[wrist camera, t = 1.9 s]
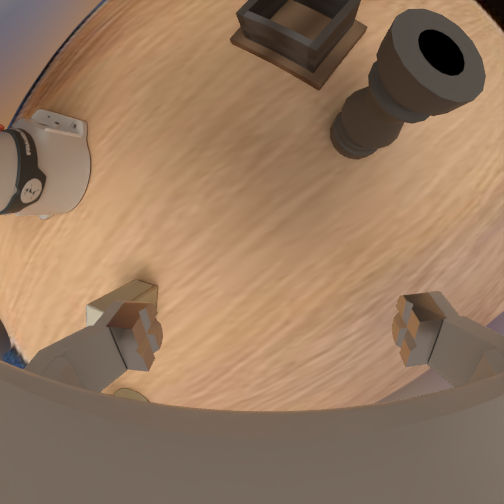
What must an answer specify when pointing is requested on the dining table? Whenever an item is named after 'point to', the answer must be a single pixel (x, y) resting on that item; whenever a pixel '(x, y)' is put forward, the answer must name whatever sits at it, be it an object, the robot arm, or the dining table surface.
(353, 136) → the candle holder
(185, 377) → the dining table surface
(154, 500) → the robot arm
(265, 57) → the dark square box
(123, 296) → the skincare box
